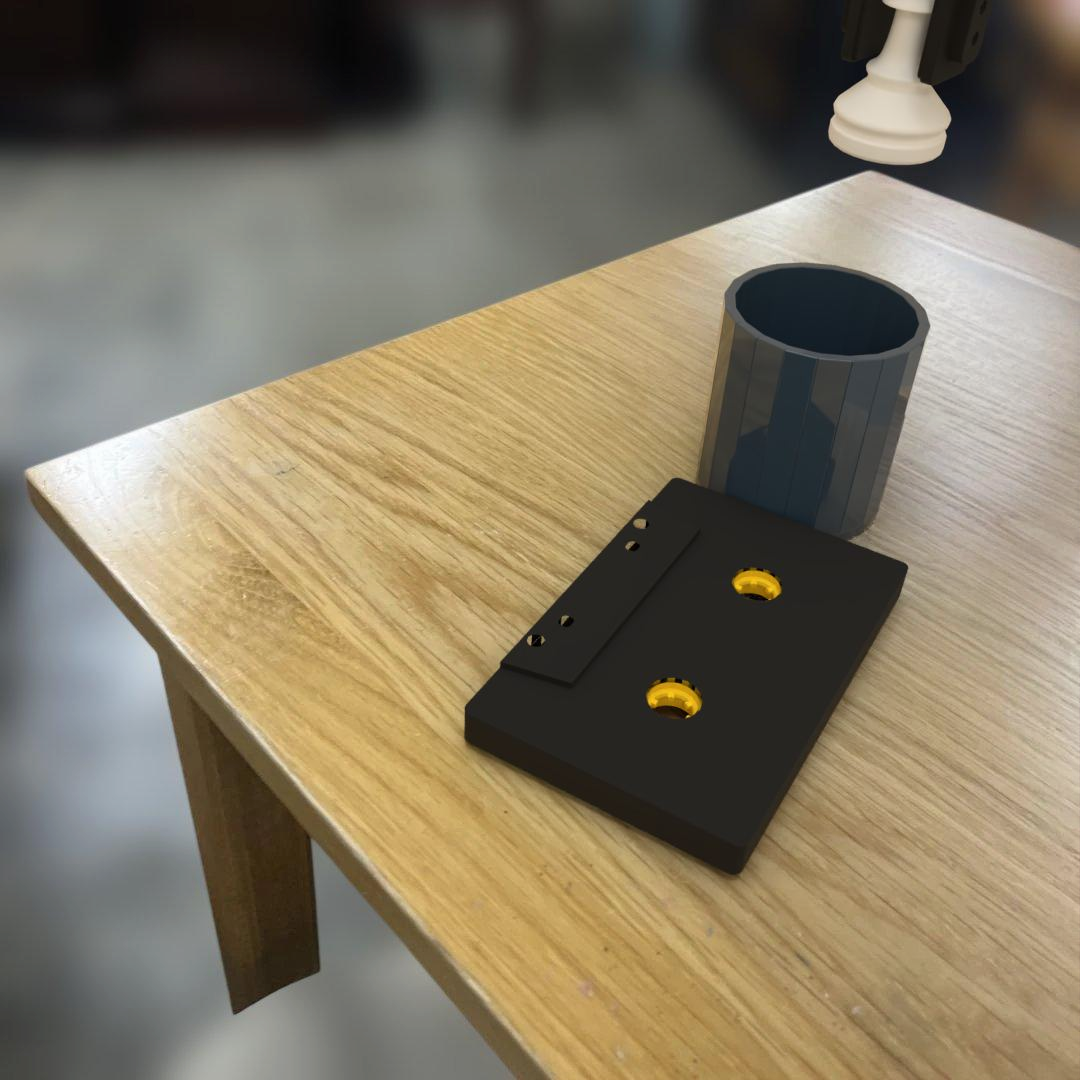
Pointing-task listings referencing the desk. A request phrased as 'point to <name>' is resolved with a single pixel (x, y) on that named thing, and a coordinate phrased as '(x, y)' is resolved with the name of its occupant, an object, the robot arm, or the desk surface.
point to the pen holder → (810, 392)
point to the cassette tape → (690, 669)
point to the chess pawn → (894, 99)
